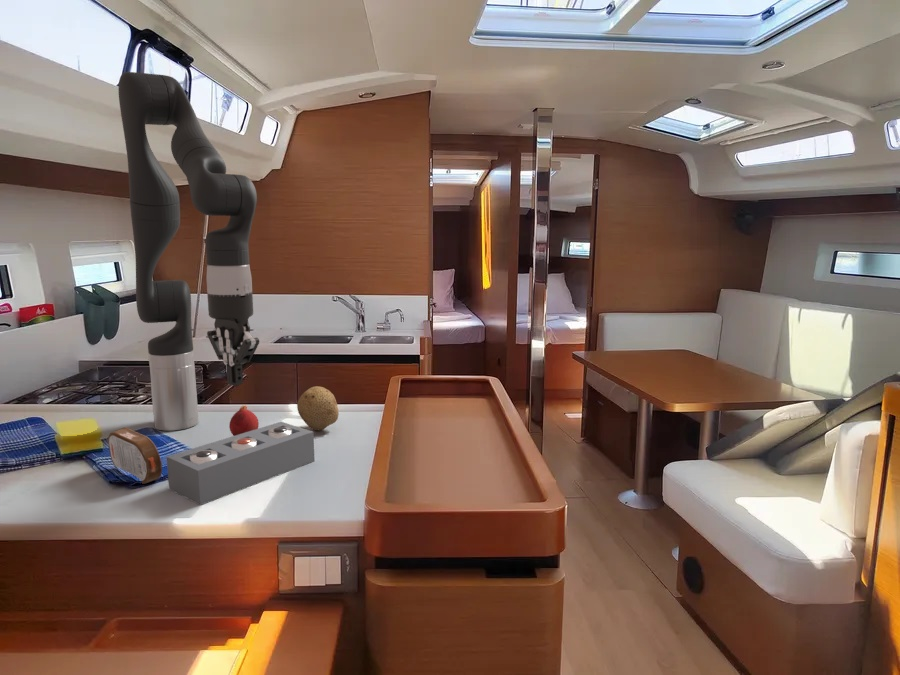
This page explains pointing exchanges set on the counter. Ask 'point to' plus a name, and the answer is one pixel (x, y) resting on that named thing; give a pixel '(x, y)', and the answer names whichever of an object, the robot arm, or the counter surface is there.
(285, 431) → the knob
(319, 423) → the brown oval lump
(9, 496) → the counter surface
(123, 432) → the tin
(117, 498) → the counter surface
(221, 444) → the mount
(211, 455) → the knob
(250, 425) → the onion
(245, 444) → the knob mid
